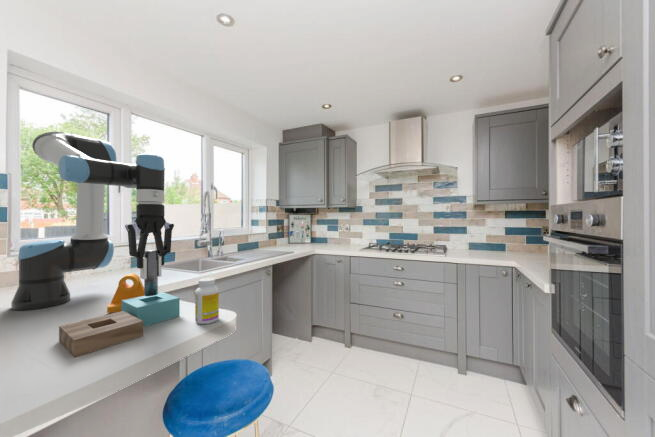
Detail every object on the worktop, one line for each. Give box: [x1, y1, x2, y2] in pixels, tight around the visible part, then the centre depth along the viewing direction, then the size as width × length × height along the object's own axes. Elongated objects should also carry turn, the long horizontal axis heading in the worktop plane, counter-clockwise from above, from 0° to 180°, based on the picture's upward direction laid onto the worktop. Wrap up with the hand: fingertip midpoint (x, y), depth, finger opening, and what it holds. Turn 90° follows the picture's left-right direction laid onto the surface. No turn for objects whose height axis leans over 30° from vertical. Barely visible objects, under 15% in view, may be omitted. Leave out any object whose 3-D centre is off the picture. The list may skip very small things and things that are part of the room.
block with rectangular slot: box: [121, 291, 181, 328], centre depth 87 cm, size 12×12×6 cm
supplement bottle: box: [194, 277, 220, 325], centre depth 84 cm, size 7×7×13 cm
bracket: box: [106, 273, 144, 314], centre depth 94 cm, size 11×7×12 cm, turn 116°
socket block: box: [58, 311, 144, 358], centre depth 72 cm, size 14×14×4 cm
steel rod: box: [143, 249, 159, 296], centre depth 87 cm, size 4×4×14 cm
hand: (151, 277), depth 87 cm, fingers closed on steel rod, 4 cm apart
